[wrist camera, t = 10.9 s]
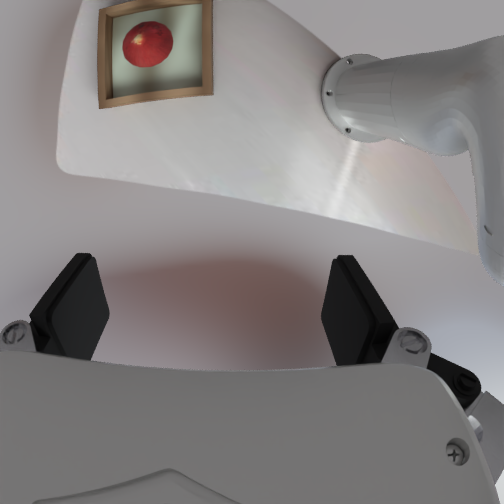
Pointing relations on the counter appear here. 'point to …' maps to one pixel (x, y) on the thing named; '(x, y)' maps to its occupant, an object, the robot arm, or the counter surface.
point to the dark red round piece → (147, 44)
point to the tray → (168, 71)
